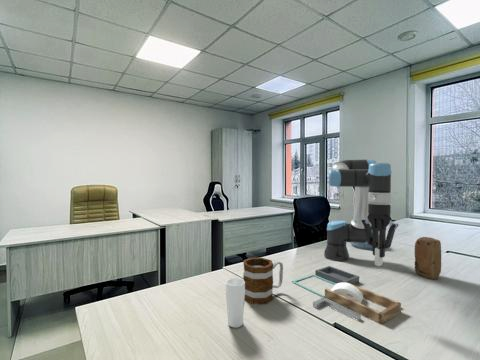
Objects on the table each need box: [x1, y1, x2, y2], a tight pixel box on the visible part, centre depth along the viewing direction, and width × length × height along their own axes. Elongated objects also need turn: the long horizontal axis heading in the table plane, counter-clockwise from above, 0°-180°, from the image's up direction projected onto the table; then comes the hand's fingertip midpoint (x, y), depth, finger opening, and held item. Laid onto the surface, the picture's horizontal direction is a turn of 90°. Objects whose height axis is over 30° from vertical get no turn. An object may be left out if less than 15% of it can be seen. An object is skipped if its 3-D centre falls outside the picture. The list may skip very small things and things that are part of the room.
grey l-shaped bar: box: [312, 297, 362, 321], centre depth 96 cm, size 16×7×2 cm, turn 36°
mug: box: [242, 257, 284, 305], centre depth 110 cm, size 20×14×15 cm
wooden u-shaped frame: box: [324, 282, 402, 325], centre depth 102 cm, size 24×14×4 cm, turn 34°
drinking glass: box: [225, 277, 246, 329], centre depth 88 cm, size 7×7×15 cm
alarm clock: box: [349, 242, 379, 251], centre depth 187 cm, size 19×20×12 cm
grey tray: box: [314, 265, 360, 285], centre depth 128 cm, size 17×11×3 cm, turn 34°
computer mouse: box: [330, 282, 364, 304], centre depth 108 cm, size 6×13×6 cm, turn 59°
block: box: [414, 236, 442, 280], centre depth 132 cm, size 11×8×20 cm
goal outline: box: [291, 274, 336, 298], centre depth 120 cm, size 19×16×1 cm
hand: (378, 264), depth 96 cm, fingers closed
